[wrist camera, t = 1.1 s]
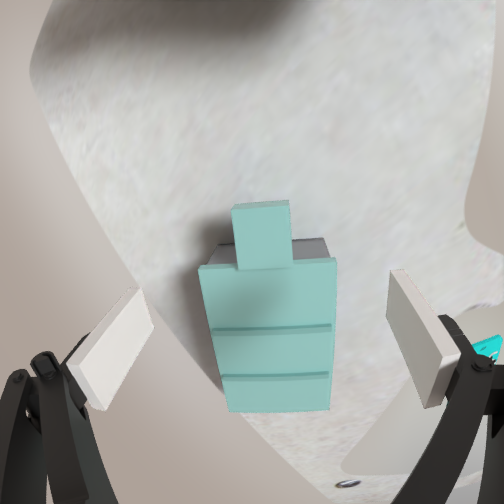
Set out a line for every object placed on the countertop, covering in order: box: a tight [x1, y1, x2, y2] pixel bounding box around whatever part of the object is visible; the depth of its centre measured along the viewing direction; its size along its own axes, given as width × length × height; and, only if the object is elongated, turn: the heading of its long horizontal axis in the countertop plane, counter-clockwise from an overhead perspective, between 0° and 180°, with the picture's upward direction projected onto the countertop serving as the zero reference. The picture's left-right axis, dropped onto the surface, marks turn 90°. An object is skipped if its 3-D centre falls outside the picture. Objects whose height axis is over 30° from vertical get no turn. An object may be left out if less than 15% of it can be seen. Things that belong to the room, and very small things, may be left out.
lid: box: [198, 200, 337, 413], centre depth 28 cm, size 24×12×2 cm, turn 6°
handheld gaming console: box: [446, 334, 503, 407], centre depth 36 cm, size 8×1×15 cm
